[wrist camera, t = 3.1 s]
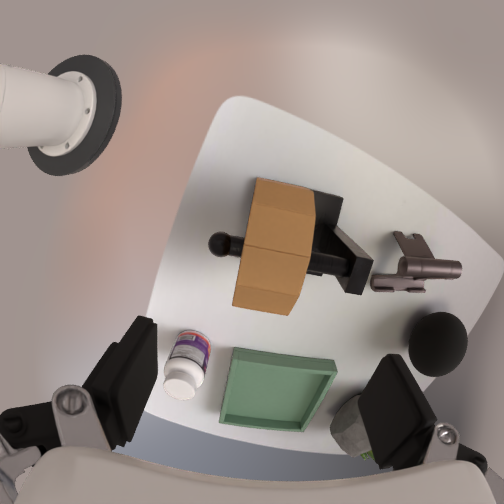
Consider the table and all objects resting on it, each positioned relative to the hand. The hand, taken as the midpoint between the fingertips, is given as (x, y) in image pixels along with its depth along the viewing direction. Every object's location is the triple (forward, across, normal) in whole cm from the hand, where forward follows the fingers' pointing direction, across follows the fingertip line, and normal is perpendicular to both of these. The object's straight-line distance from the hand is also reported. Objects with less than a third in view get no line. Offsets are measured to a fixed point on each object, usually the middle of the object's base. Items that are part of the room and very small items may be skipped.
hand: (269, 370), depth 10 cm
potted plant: (+24, -26, +30) cm, 46 cm away
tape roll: (+14, 0, 0) cm, 15 cm away
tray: (+24, -7, +26) cm, 36 cm away
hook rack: (+24, -2, -1) cm, 24 cm away
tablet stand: (+24, -19, +1) cm, 31 cm away
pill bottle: (+24, +6, +19) cm, 31 cm away
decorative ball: (+24, -29, +11) cm, 39 cm away
